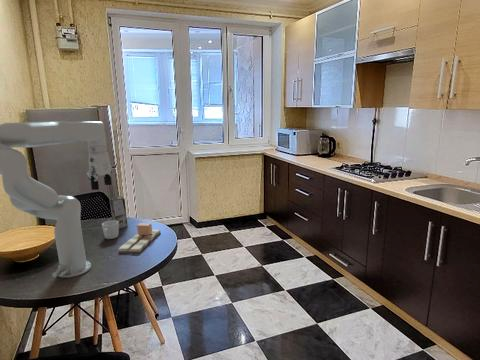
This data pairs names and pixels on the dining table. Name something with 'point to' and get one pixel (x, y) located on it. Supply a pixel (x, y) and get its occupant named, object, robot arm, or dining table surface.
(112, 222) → the cup
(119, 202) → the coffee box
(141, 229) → the fader tab
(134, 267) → the dining table surface
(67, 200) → the robot arm
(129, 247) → the slider board
